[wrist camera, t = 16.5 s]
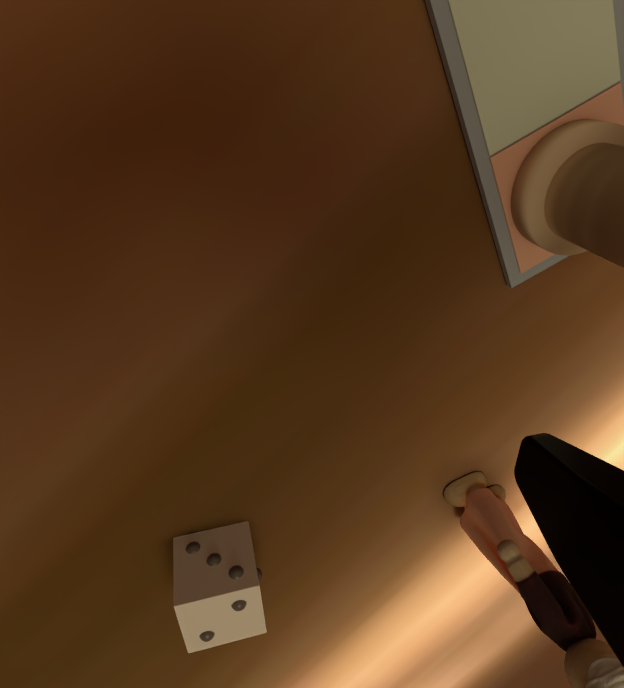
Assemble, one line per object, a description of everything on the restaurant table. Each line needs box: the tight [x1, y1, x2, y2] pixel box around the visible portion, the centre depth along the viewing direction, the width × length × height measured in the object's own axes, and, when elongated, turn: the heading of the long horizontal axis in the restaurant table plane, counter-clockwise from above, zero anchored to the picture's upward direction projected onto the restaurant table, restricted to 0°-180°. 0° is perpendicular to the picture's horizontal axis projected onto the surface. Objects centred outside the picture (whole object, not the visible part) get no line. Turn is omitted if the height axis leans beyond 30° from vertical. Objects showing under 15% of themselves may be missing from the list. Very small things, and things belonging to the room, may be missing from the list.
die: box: [173, 521, 267, 653], centre depth 26 cm, size 4×4×4 cm
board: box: [425, 0, 624, 288], centre depth 18 cm, size 18×7×1 cm, turn 27°
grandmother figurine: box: [444, 472, 624, 688], centre depth 26 cm, size 8×4×13 cm, turn 54°
